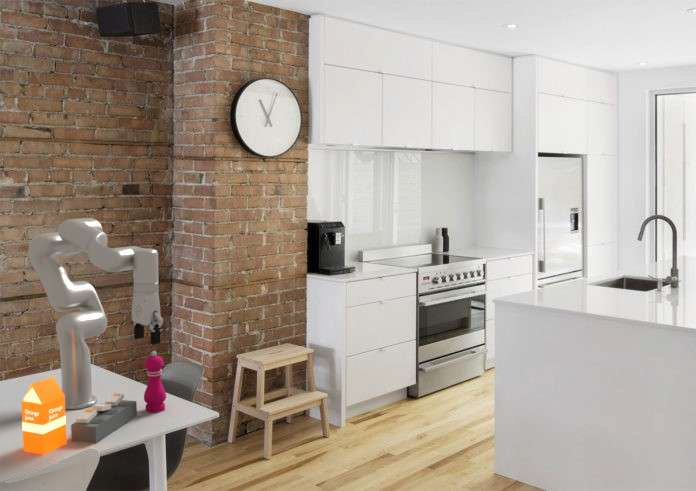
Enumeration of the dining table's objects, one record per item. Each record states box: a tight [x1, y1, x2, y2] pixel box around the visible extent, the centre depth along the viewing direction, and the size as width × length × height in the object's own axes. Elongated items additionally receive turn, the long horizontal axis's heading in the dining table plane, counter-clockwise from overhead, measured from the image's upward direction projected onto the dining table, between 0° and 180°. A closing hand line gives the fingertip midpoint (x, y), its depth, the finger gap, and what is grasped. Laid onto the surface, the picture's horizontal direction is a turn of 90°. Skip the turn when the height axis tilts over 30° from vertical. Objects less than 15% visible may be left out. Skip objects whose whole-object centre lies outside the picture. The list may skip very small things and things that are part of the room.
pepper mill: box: [143, 350, 167, 414], centre depth 235 cm, size 7×7×20 cm
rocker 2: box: [91, 403, 111, 411], centre depth 219 cm, size 4×5×2 cm
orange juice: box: [20, 375, 67, 456], centre depth 203 cm, size 8×9×20 cm
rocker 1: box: [75, 408, 97, 423], centre depth 211 cm, size 4×5×2 cm
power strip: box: [70, 399, 138, 444], centre depth 222 cm, size 8×30×6 cm, turn 168°
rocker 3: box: [104, 392, 125, 406], centre depth 226 cm, size 4×5×2 cm
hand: (147, 341), depth 224 cm, fingers open, 9 cm apart
